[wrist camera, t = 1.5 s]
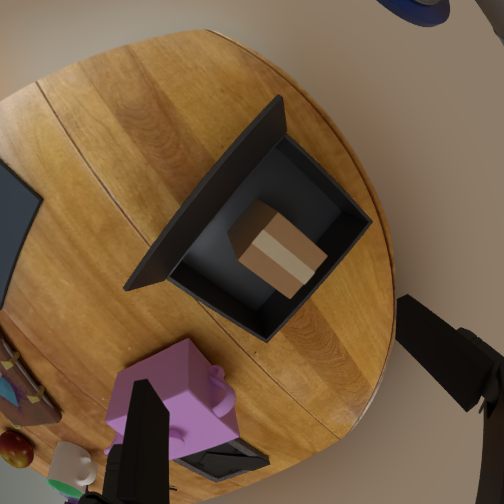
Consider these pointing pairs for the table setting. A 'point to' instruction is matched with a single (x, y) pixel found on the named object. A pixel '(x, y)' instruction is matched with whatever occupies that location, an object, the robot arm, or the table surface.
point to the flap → (210, 195)
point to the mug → (71, 469)
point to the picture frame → (225, 460)
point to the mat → (13, 221)
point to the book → (22, 393)
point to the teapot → (180, 399)
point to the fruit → (15, 450)
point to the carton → (296, 212)
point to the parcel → (274, 248)
